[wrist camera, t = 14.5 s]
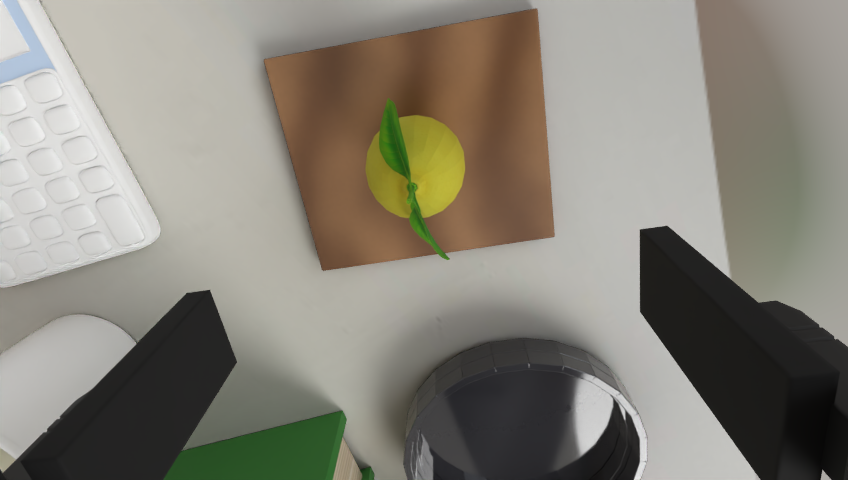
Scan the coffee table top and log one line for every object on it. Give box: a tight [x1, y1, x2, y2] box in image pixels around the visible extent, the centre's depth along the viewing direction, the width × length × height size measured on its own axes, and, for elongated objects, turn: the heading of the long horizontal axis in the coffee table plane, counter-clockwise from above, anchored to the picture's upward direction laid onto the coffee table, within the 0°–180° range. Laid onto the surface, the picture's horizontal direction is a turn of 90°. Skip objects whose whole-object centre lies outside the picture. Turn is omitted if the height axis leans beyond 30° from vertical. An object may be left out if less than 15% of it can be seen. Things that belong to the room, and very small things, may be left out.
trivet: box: [264, 9, 555, 271], centre depth 31 cm, size 16×14×1 cm
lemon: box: [365, 98, 465, 260], centre depth 26 cm, size 7×6×10 cm
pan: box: [403, 338, 647, 480], centre depth 39 cm, size 18×18×4 cm
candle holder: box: [0, 314, 137, 473], centre depth 33 cm, size 10×10×12 cm
